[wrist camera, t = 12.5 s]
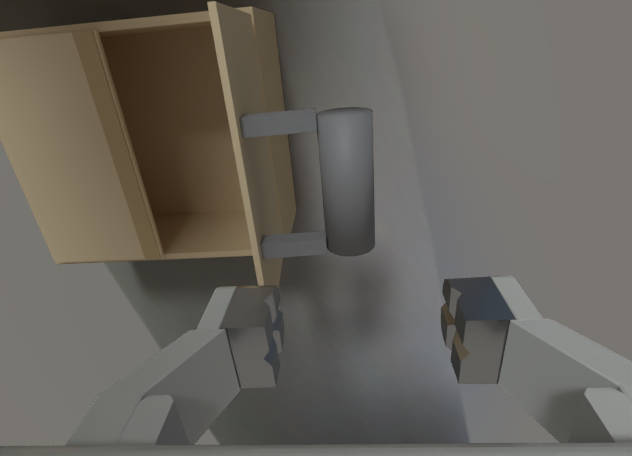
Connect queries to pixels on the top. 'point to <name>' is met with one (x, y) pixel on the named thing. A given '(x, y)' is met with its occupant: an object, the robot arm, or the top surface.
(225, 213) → the carton
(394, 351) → the top surface
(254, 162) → the near flap
